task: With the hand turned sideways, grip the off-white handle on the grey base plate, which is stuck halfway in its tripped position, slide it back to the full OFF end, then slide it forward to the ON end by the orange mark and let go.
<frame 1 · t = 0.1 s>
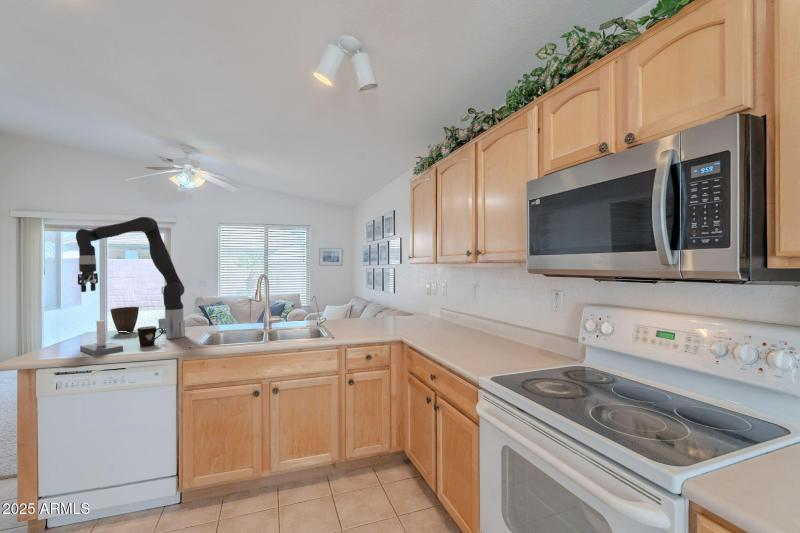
hand: (88, 291, 214), 29 cm above the countertop, tool pointing down, fingers open, 8 cm apart
switch handle: (101, 333, 192), point 9 cm above the countertop, slide at 6.0 cm
coffee mug: (150, 345, 203), on the countertop
medicine box: (166, 331, 244), on the countertop
grey base plate: (101, 350, 192), on the countertop
plant pot: (125, 333, 240), on the countertop
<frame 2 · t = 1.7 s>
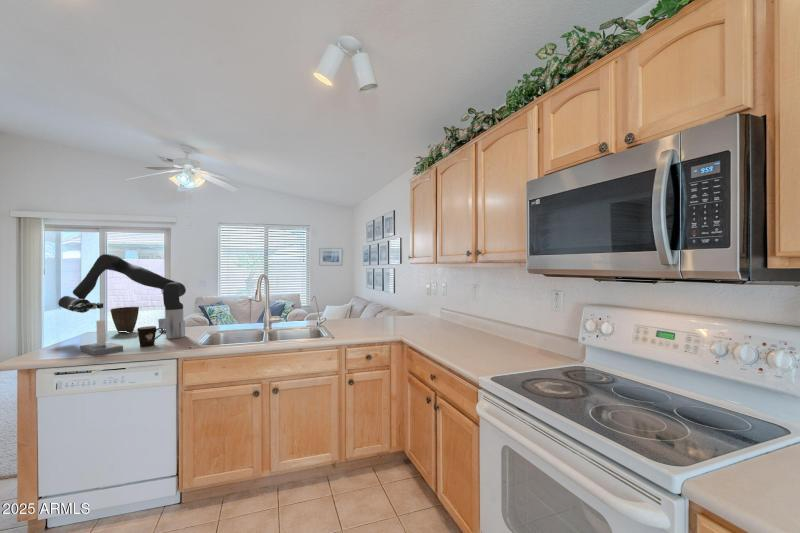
hand: (90, 307, 199), 22 cm above the countertop, tool horizontal, fingers open, 8 cm apart
nothing on the countertop moved.
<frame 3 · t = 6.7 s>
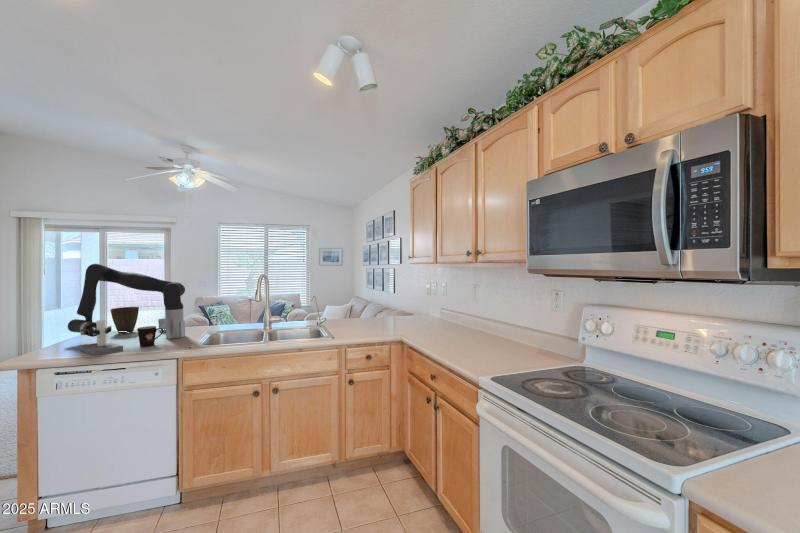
hand: (103, 332, 190), 10 cm above the countertop, tool horizontal, fingers closed on switch handle, 3 cm apart
switch handle: (101, 333, 192), point 9 cm above the countertop, slide at 6.0 cm, touching gripper
everything else where it was.
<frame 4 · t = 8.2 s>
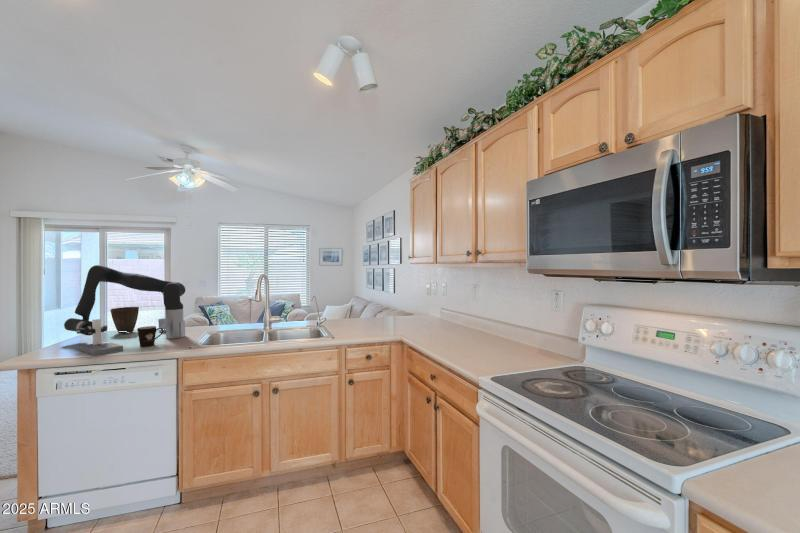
hand: (99, 330, 194), 10 cm above the countertop, tool horizontal, fingers closed on switch handle, 3 cm apart
switch handle: (96, 331, 195), point 9 cm above the countertop, slide at 0.1 cm, touching gripper
everything else where it was.
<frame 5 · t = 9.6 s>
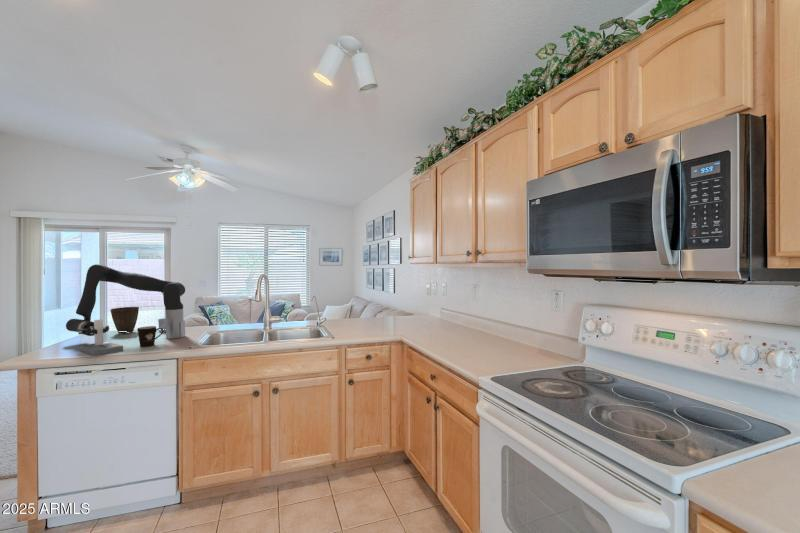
hand: (100, 331, 192), 10 cm above the countertop, tool horizontal, fingers closed on switch handle, 3 cm apart
switch handle: (98, 332, 194), point 9 cm above the countertop, slide at 2.7 cm, touching gripper
everything else where it was.
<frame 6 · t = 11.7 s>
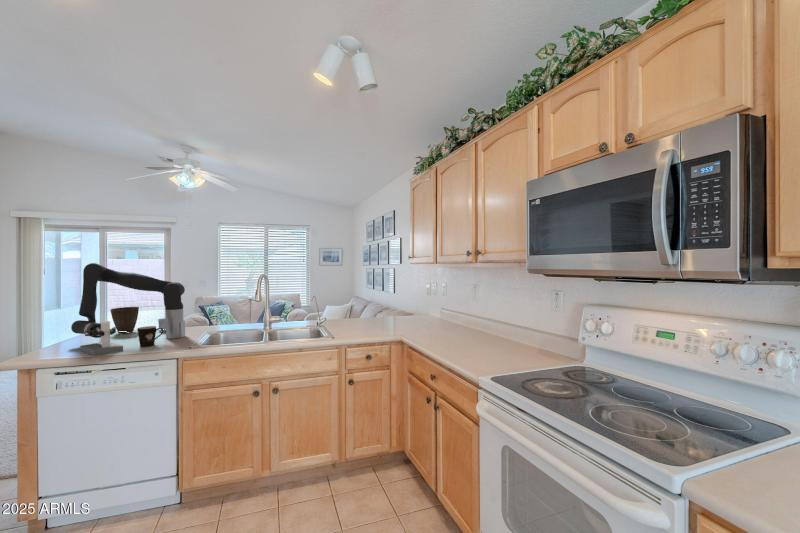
hand: (107, 333, 187), 10 cm above the countertop, tool horizontal, fingers closed on switch handle, 3 cm apart
switch handle: (105, 334, 189), point 9 cm above the countertop, slide at 12.0 cm, touching gripper
everything else where it was.
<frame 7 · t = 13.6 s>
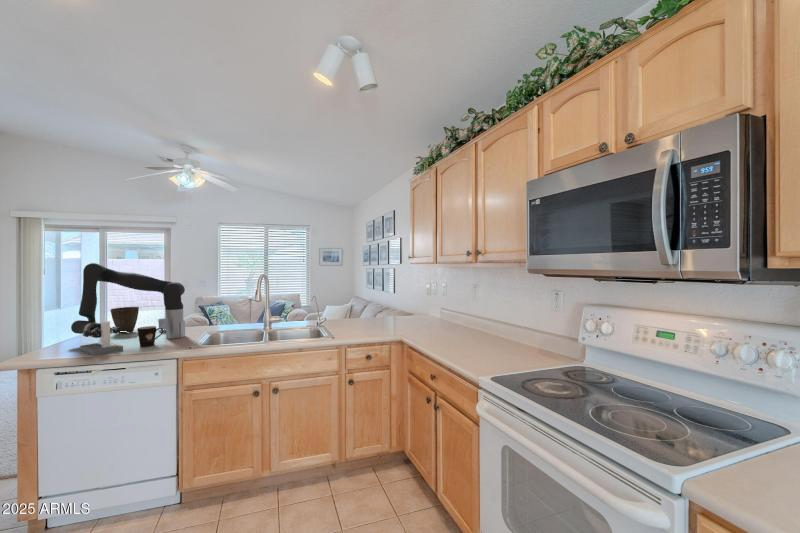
hand: (106, 333, 188), 10 cm above the countertop, tool horizontal, fingers open, 8 cm apart
switch handle: (105, 334, 189), point 9 cm above the countertop, slide at 12.0 cm
everything else where it was.
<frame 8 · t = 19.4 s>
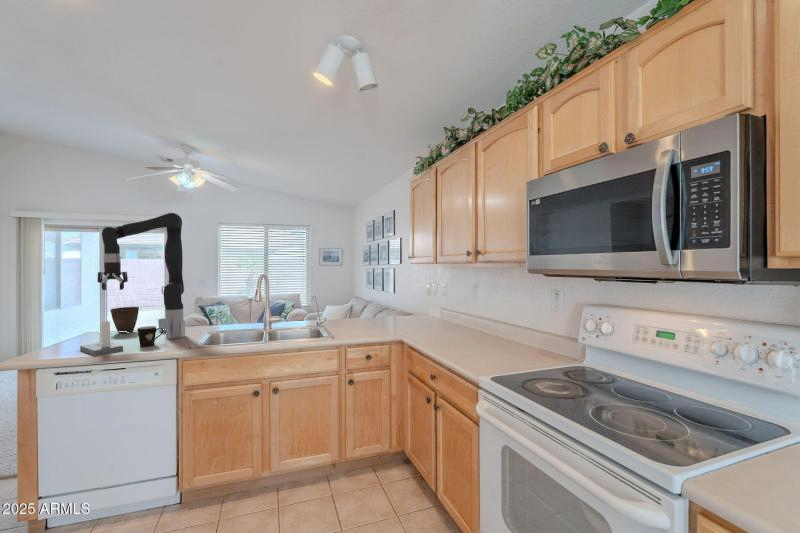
hand: (113, 289, 212), 30 cm above the countertop, tool pointing down, fingers open, 8 cm apart
nothing on the countertop moved.
at the end: switch handle slide at 12.0 cm; the gripper is holding nothing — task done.
